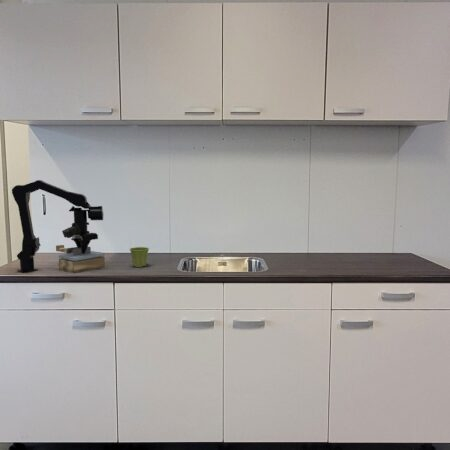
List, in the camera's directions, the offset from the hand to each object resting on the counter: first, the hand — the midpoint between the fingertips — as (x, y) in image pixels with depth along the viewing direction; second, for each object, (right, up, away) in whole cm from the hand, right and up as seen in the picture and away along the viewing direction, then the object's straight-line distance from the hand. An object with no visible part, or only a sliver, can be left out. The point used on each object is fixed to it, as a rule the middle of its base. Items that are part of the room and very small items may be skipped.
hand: (81, 253), depth 175 cm
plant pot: (+26, -7, +5) cm, 28 cm away
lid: (0, -3, 0) cm, 3 cm away
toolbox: (-1, -7, +2) cm, 7 cm away
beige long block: (-12, 0, +9) cm, 15 cm away
